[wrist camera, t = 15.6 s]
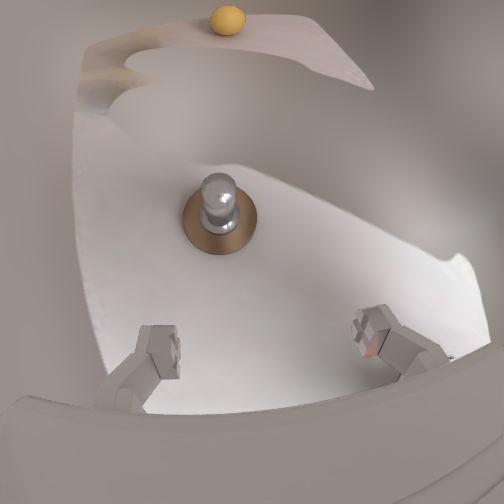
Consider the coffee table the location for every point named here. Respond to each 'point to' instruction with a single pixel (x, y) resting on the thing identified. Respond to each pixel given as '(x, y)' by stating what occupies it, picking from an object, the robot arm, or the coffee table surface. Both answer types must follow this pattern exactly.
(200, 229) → the base disc
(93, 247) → the coffee table surface
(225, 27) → the stress ball
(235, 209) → the knob
